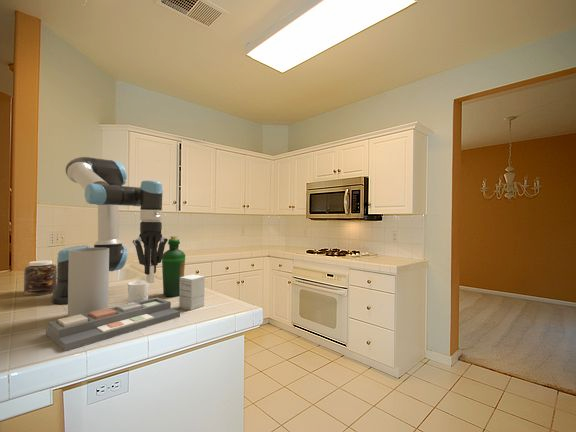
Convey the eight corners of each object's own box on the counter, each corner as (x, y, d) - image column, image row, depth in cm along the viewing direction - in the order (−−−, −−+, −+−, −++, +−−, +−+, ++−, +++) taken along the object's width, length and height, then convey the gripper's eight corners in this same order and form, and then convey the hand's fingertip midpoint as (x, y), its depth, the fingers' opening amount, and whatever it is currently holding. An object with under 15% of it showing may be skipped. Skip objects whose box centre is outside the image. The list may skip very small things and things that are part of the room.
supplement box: (192, 302, 126) (193, 274, 126) (204, 305, 123) (205, 276, 123) (178, 307, 120) (179, 277, 120) (191, 310, 116) (191, 279, 116)
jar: (51, 288, 146) (52, 258, 146) (59, 292, 139) (60, 261, 139) (20, 293, 137) (21, 261, 137) (27, 297, 130) (28, 264, 130)
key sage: (140, 308, 111) (140, 304, 111) (155, 305, 116) (155, 301, 116) (148, 312, 107) (148, 307, 107) (163, 308, 112) (163, 304, 112)
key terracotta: (89, 316, 97) (89, 312, 97) (108, 312, 102) (108, 307, 102) (96, 321, 93) (96, 316, 93) (116, 316, 98) (116, 311, 98)
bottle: (189, 294, 140) (190, 236, 140) (170, 299, 131) (171, 237, 131) (175, 290, 146) (176, 235, 146) (156, 295, 137) (157, 236, 137)
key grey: (116, 310, 104) (116, 306, 104) (133, 306, 109) (133, 302, 109) (124, 314, 100) (124, 309, 100) (141, 309, 105) (141, 305, 105)
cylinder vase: (101, 308, 117) (102, 246, 117) (113, 315, 109) (114, 249, 109) (63, 316, 107) (64, 249, 107) (73, 324, 99) (74, 252, 99)
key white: (58, 324, 90) (58, 319, 90) (80, 319, 95) (80, 314, 95) (64, 329, 87) (64, 323, 87) (87, 323, 91) (87, 318, 91)
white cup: (139, 310, 115) (140, 285, 115) (122, 308, 117) (123, 284, 117) (152, 304, 123) (153, 281, 123) (136, 302, 125) (137, 279, 125)
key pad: (45, 334, 91) (46, 320, 91) (154, 307, 120) (154, 296, 120) (65, 351, 80) (65, 335, 80) (179, 316, 109) (179, 305, 109)
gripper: (139, 221, 103) (138, 287, 103) (172, 221, 114) (171, 280, 114) (128, 221, 108) (127, 284, 108) (161, 220, 118) (160, 278, 118)
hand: (150, 282), depth 111 cm, fingers closed
